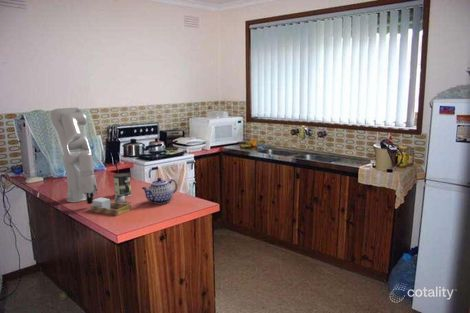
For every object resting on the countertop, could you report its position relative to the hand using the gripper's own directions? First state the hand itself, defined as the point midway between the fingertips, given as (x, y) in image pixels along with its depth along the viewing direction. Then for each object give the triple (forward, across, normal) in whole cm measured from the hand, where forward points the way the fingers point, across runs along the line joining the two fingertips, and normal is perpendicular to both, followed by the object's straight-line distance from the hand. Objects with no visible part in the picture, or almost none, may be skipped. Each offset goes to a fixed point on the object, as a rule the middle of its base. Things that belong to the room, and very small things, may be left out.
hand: (90, 203), depth 223 cm
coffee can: (+3, +1, +27) cm, 27 cm away
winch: (+3, +12, +12) cm, 17 cm away
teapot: (+3, +33, +25) cm, 41 cm away
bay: (+3, +16, 0) cm, 16 cm away
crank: (-2, +12, +15) cm, 20 cm away
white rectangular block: (+3, +9, 0) cm, 9 cm away
